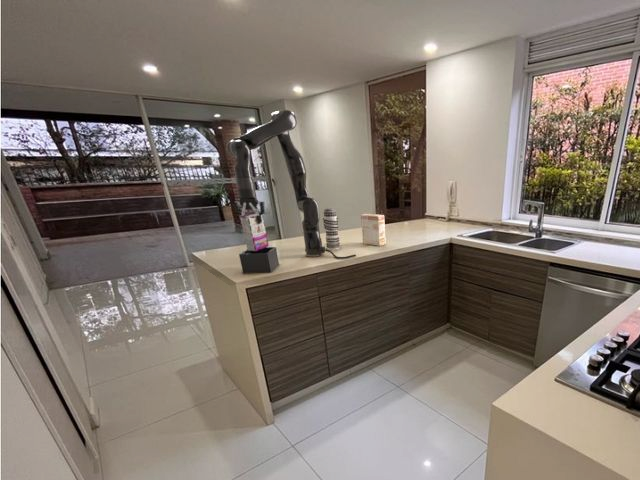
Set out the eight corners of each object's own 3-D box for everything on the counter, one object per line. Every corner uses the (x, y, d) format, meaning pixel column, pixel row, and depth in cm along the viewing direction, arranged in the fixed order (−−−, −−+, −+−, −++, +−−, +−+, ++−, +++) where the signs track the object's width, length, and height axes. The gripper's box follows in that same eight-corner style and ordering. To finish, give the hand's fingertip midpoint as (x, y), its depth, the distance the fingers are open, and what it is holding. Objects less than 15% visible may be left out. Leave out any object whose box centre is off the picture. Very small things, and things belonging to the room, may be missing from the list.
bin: (279, 264, 184) (276, 246, 180) (271, 272, 171) (267, 253, 167) (253, 265, 183) (249, 247, 179) (243, 273, 170) (238, 254, 166)
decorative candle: (330, 246, 225) (326, 207, 214) (343, 247, 222) (339, 207, 212) (323, 249, 217) (318, 209, 206) (336, 250, 214) (332, 209, 204)
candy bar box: (260, 245, 178) (254, 213, 171) (269, 246, 177) (263, 214, 170) (246, 250, 168) (239, 217, 161) (255, 251, 167) (248, 217, 160)
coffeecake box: (385, 244, 231) (384, 214, 223) (379, 246, 225) (378, 216, 217) (369, 241, 238) (367, 213, 230) (362, 243, 233) (360, 214, 225)
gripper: (264, 186, 164) (270, 222, 171) (233, 187, 163) (241, 222, 170) (258, 187, 158) (265, 224, 165) (226, 188, 156) (235, 225, 163)
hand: (253, 223), depth 167 cm, fingers closed on candy bar box, 5 cm apart
